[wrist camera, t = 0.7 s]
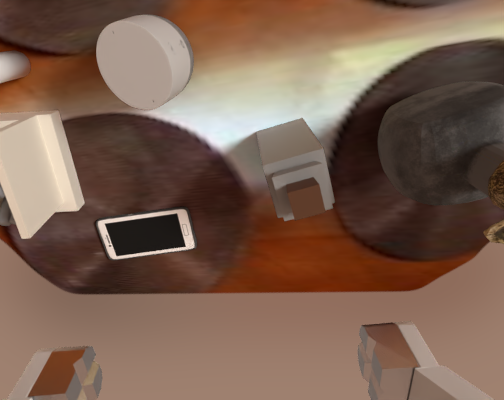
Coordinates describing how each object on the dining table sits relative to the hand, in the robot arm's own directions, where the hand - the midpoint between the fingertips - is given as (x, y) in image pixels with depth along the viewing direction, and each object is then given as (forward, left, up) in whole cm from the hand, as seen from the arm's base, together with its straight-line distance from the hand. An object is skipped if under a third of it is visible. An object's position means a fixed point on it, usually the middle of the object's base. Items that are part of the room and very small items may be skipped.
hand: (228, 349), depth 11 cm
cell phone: (+21, -15, -43) cm, 50 cm away
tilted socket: (+8, -29, -42) cm, 52 cm away
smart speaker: (-5, -9, -43) cm, 44 cm away
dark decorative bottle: (+5, +27, -42) cm, 50 cm away
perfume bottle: (+8, +7, -43) cm, 44 cm away
